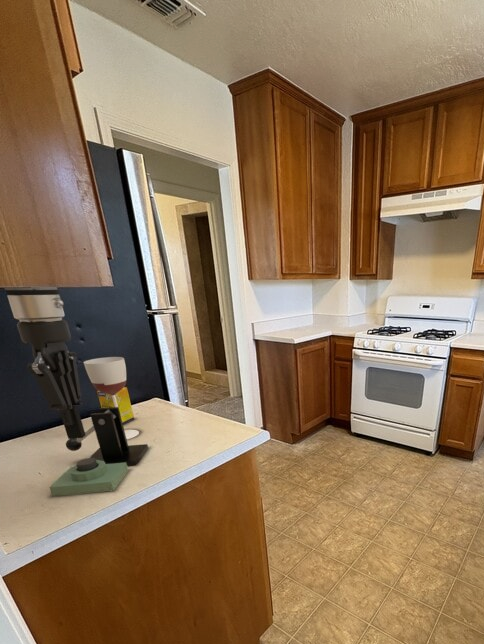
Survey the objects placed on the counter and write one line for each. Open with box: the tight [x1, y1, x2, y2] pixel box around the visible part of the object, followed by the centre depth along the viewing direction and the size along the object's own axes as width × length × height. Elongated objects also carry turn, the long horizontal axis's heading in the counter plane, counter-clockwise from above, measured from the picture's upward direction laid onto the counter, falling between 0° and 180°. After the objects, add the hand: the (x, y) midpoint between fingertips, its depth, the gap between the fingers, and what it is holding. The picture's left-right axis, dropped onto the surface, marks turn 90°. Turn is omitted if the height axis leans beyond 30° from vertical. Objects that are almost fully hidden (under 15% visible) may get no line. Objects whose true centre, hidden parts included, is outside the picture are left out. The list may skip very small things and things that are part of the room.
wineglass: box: [83, 356, 140, 440], centre depth 99 cm, size 9×10×22 cm
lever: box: [65, 409, 116, 452], centre depth 86 cm, size 14×3×3 cm
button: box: [75, 457, 98, 472], centre depth 77 cm, size 4×4×2 cm
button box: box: [49, 460, 129, 497], centre depth 78 cm, size 12×9×4 cm
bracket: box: [89, 407, 149, 467], centre depth 87 cm, size 12×10×13 cm
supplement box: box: [96, 386, 135, 426], centre depth 112 cm, size 6×6×11 cm
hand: (77, 436), depth 74 cm, fingers closed
